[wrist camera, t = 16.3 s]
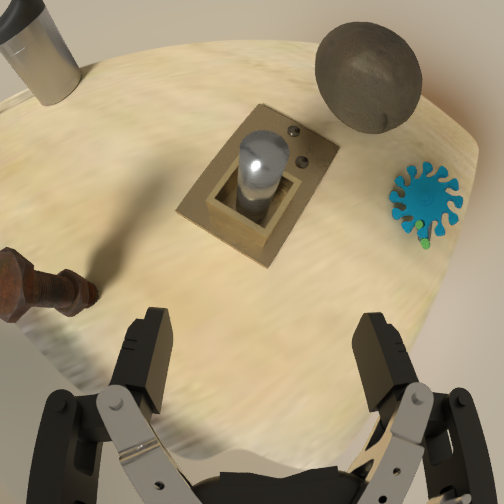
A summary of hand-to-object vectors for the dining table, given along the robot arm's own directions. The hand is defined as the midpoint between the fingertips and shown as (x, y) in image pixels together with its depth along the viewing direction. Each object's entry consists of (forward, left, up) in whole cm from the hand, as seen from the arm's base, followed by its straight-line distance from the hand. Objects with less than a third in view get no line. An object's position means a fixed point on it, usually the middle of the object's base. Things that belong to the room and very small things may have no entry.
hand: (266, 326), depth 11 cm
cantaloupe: (-2, +31, -19) cm, 37 cm away
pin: (-6, +10, -18) cm, 22 cm away
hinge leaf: (-7, +14, -19) cm, 25 cm away
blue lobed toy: (+12, +22, -19) cm, 31 cm away
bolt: (-17, -9, -19) cm, 27 cm away
